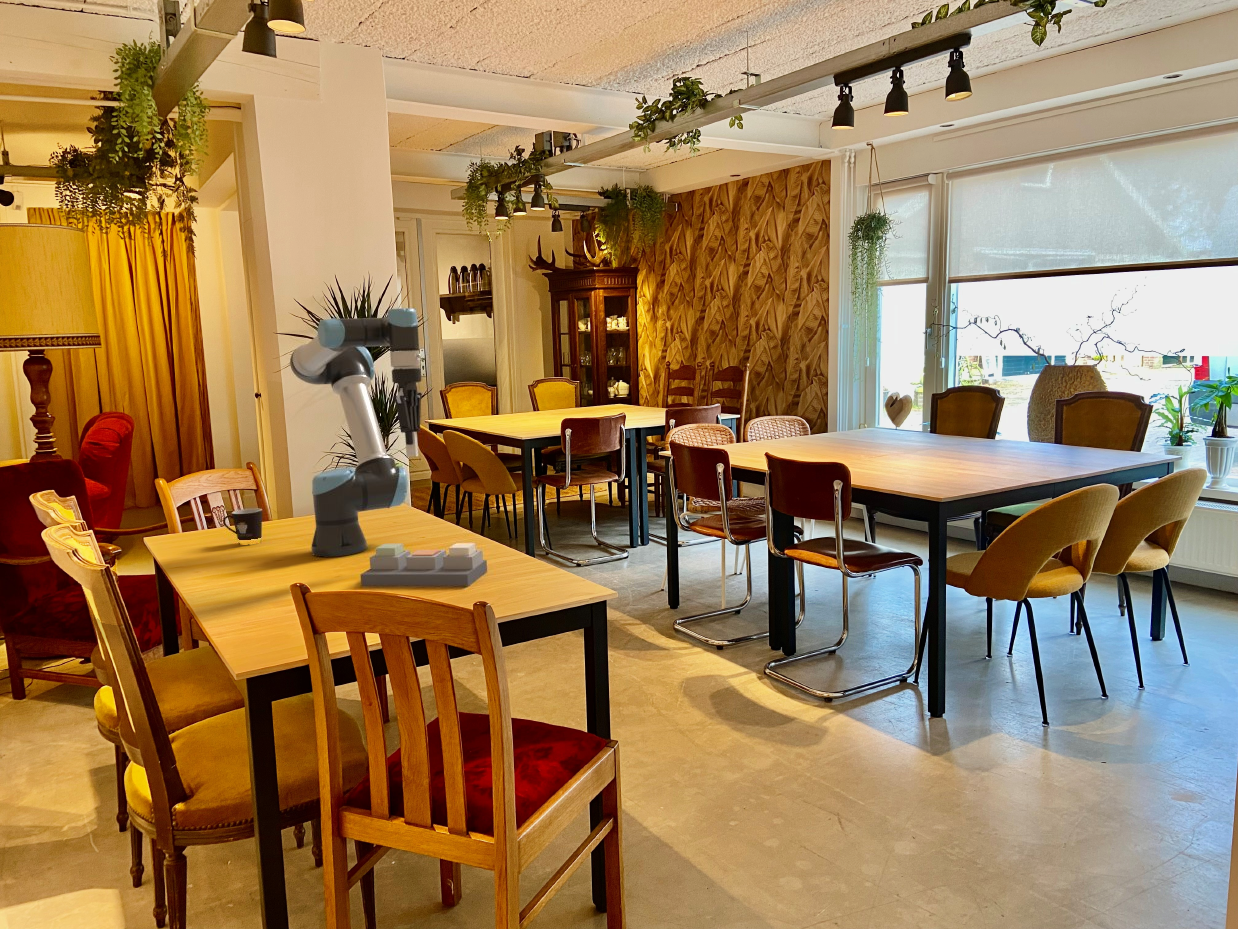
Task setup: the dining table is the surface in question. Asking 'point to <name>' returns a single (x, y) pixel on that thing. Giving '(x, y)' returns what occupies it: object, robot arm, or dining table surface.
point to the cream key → (462, 549)
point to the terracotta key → (426, 553)
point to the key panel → (424, 570)
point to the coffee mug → (247, 523)
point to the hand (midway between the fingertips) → (412, 456)
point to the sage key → (389, 550)
